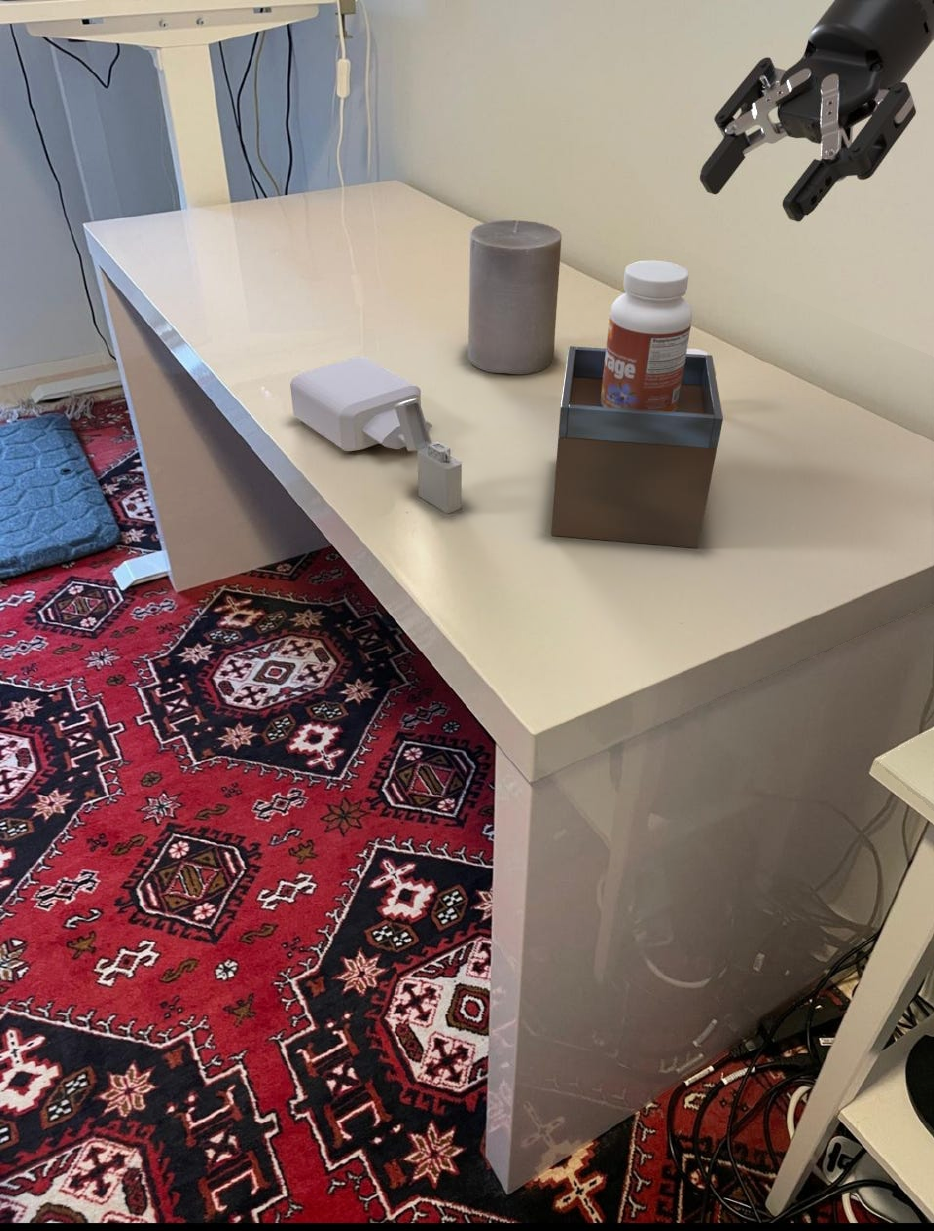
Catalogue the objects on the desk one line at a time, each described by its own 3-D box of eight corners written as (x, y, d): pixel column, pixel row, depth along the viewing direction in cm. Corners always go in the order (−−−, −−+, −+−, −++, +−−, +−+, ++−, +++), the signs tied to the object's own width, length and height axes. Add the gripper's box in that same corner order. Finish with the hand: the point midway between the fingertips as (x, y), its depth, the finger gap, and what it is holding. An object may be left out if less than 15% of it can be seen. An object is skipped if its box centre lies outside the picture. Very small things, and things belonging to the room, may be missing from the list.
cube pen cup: (691, 476, 87) (712, 355, 80) (698, 548, 77) (723, 418, 70) (559, 465, 88) (569, 345, 81) (550, 535, 79) (560, 406, 72)
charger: (380, 481, 85) (293, 421, 94) (460, 451, 90) (370, 397, 99) (378, 433, 82) (288, 376, 92) (461, 405, 87) (368, 353, 96)
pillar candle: (516, 335, 113) (522, 202, 104) (571, 363, 107) (582, 223, 98) (449, 354, 108) (450, 216, 99) (502, 383, 102) (508, 239, 93)
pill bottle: (587, 397, 79) (600, 260, 72) (653, 387, 80) (673, 253, 74) (620, 430, 74) (638, 287, 67) (690, 419, 76) (714, 279, 69)
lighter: (462, 507, 82) (463, 422, 77) (447, 514, 81) (447, 428, 76) (412, 475, 86) (410, 393, 81) (396, 481, 85) (393, 398, 80)
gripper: (797, -37, 72) (661, 146, 74) (965, -22, 62) (803, 188, 64) (828, 41, 77) (700, 209, 79) (986, 65, 68) (836, 256, 70)
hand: (746, 199), depth 72 cm, fingers open, 8 cm apart
